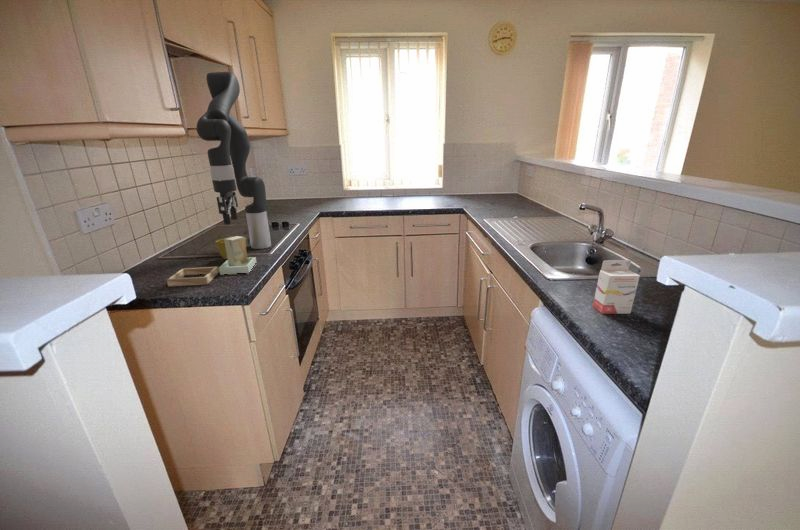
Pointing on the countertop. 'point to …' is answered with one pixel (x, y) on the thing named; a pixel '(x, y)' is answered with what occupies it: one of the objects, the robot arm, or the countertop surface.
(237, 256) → the skincare box
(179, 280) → the frame
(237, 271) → the parts tray
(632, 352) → the countertop surface
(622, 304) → the ink cartridge box
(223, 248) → the flower pot
